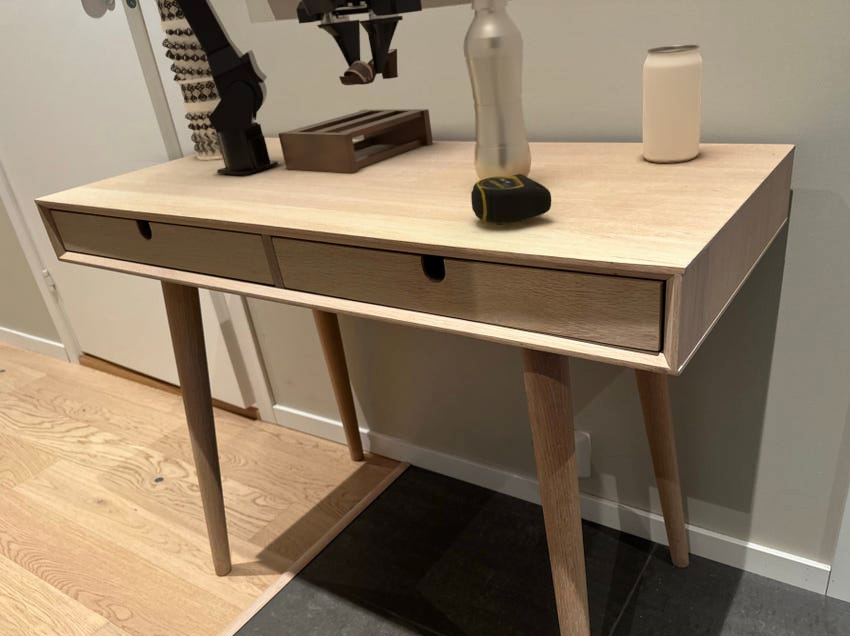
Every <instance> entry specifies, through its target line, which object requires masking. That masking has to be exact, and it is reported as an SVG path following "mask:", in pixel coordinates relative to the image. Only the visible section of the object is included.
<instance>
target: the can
mask: <svg viewBox="0 0 850 636" xmlns="http://www.w3.org/2000/svg"><path fill="white" fill-rule="evenodd" d="M699 48H700V45H698V44H677V45H666V46H659V47H652V48H649V49H647V56H646V59H645V61H644V63H643V70H642V156H643V158H645V160H646V161H647V162H651V163H657V164H673V163H674V164H675V163H682V162H687V161H690V160H693V159H695V158H696V157H697V155H699V152H700V136H701V114H702V92H703V90H702V89H703V58H702V57H701V54H700V50H699Z"/></svg>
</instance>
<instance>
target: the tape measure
mask: <svg viewBox="0 0 850 636" xmlns="http://www.w3.org/2000/svg"><path fill="white" fill-rule="evenodd" d="M470 193H471V194H470V199H471V208H472V211H473V213H474V216H475V217H477V218H478V219H479V220H480V221H483V222H487V223H493V224H496V225H498V226H502V225H505V224H512V223H513V224H514V223H520V222H523V221H527V220H529V219H532V218H535V217H538V216H539V217H540V216H542V215H544V214H546V213H548V212H549V211H550V210H551V208H552V194H551V191H550V190H549V189H548V188H547V187H546V186H544V185H543V184H541V183H540V182H538V181H535V180H534V179H531V178H530V177H528V176H527V177H526V176H524V175H522V174H517V175H513V176H497V177H490V178H486V179H483V180H480V179H479V180H478V181H477V182H475V183H474V185H473V187H472V190H471V192H470Z"/></svg>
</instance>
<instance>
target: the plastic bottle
mask: <svg viewBox="0 0 850 636" xmlns="http://www.w3.org/2000/svg"><path fill="white" fill-rule="evenodd" d="M506 6H509V0H471V6H470V9H471V10H474V16H473V18H472V21H471V23H470V25H469V27H468V29H467V31H466V34H465V37H464V39H463V47H462V50H463V56H464V58H465V64H466V69H467V73H468V77H469V82H470V87H471V93H472V99H473V109H474V119H475V120H474V122H475V123H474V124H475V125H474V126H475V127H474V128H475V145H474V159H473V161H474V162H473V163H474V168H475V172H476V176H477V178H478V179H479V181H480V180H483V179H486V178H490V177H497V176H513V175H517V174H522V175H524V176H526V177H527V178H528V176H529V174H530V172H531V168H532V153H531V149H530V144H529V140H528V139H527V131H526V124H525V117H524V112H523V110H524V109H523V98H522V94H523V87H522V86H523V84H522V75H523V60H524V59H523V58H524V53H523V52H524V39H523V36H522V33H521V31H520V29H519V28H518V26H517V25H516V23H515V22H514V20H513V19H512V18H511V17H510V15H509V14H508V13H507V9H506Z"/></svg>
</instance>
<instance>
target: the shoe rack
mask: <svg viewBox="0 0 850 636" xmlns="http://www.w3.org/2000/svg"><path fill="white" fill-rule="evenodd" d="M358 137H363V138H361V139H358V140H355V141H353V139H355V138H358ZM278 138H279V143H280V148H281V151H282V156H283V161H284V165H285V169H286V170H293V171H295V170H296V171H310V172H325V173H326V172H327V173H342V174H343V173H345V174H354V173H357V172H359V169H361V168H364V167H367V166H370V165H372V164H375V163H377V162H380V161H383V160H386V159H389V158H391V157H395V156H397V155H401V154H402V153H405V152H408V151H412V150H413V149H416V148H419V147H421V146H430V145H432V144H434V140H433V134H432V126H431V119H430V111H429V109H427V108H420V109H419V108H417V109H416V108H415V109H414V108H413V109H412V108H405V109H404V108H403V109H401V108H399V109H396V108H395V109H394V108H391V109H389V108H388V109H383V108H381V109H379V108H378V109H376V108H375V109H361V110H358V111H356V112H353V113H348V114H345V115H342V116H338V117H334V118H331V119H327V120H324V121H320V122H316V123H313V124H309V125H306V126H302V127H299V128H295V129H291V130H287V131H282V132H278ZM370 145H394V146H391V147H388V148H386V149H383V150H379V151H377V152H374V153H371V154H368V155H366V156H363V157H360V158H357V157H356V152H355V151H356V150H360V149H362V148H364V147H368V146H370Z"/></svg>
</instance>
